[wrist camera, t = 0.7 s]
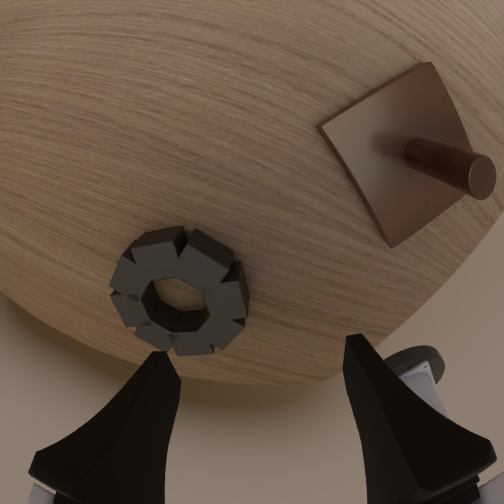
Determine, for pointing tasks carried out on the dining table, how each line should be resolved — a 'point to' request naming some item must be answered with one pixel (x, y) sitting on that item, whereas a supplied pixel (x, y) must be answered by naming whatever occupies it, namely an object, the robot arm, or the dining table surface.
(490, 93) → the dining table surface
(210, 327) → the ring
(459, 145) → the peg stand
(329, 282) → the dining table surface
